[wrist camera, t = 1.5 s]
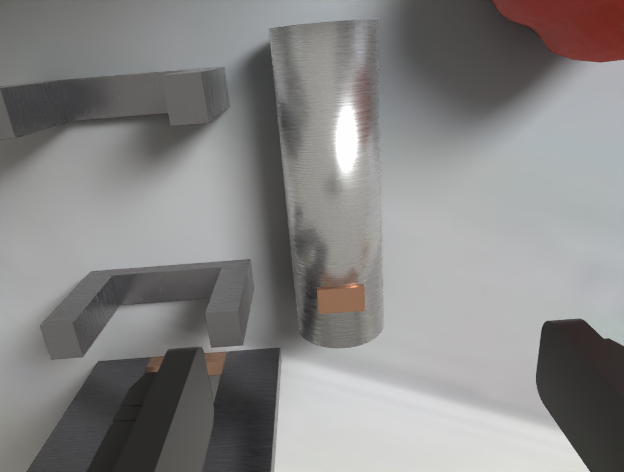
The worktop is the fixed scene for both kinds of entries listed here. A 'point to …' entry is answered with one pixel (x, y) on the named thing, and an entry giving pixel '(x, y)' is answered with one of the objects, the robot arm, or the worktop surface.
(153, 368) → the frame
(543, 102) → the worktop surface
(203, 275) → the grey u-shaped bracket
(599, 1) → the vegetable
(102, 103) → the grey metal blocks
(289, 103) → the tube
